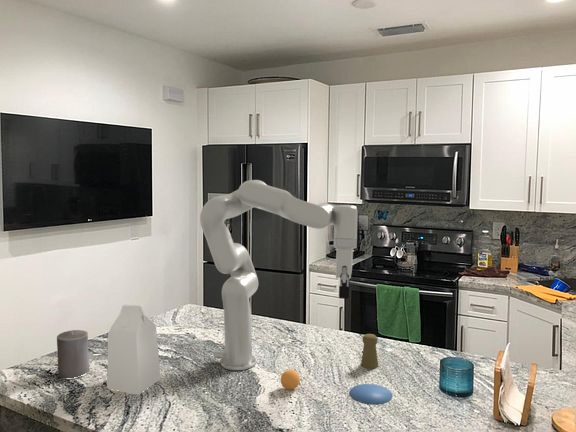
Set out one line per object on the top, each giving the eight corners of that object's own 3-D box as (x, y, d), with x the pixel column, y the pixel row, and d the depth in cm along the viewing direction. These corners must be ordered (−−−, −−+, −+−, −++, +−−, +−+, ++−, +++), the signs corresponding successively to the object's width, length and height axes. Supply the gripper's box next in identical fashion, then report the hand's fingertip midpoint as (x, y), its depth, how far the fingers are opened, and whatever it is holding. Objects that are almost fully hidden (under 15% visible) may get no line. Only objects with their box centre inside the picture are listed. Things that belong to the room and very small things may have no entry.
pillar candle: (53, 374, 166) (51, 331, 165) (82, 365, 174) (80, 324, 172) (65, 382, 160) (63, 338, 158) (94, 373, 167) (93, 330, 165)
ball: (279, 392, 152) (279, 373, 152) (282, 384, 158) (282, 366, 158) (298, 393, 151) (298, 375, 151) (300, 385, 157) (300, 367, 157)
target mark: (348, 402, 146) (348, 401, 146) (349, 383, 159) (349, 382, 158) (393, 405, 144) (393, 404, 144) (391, 385, 157) (391, 385, 157)
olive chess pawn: (378, 369, 169) (378, 338, 168) (360, 368, 170) (360, 337, 169) (378, 362, 175) (379, 332, 174) (361, 361, 176) (361, 331, 175)
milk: (160, 379, 162) (158, 302, 159) (139, 395, 151) (136, 312, 148) (130, 374, 166) (127, 299, 163) (107, 389, 155) (103, 309, 152)
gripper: (334, 238, 170) (333, 287, 171) (332, 246, 153) (331, 300, 154) (356, 239, 169) (355, 288, 170) (357, 247, 152) (355, 301, 153)
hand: (344, 294), depth 162 cm, fingers open, 9 cm apart
